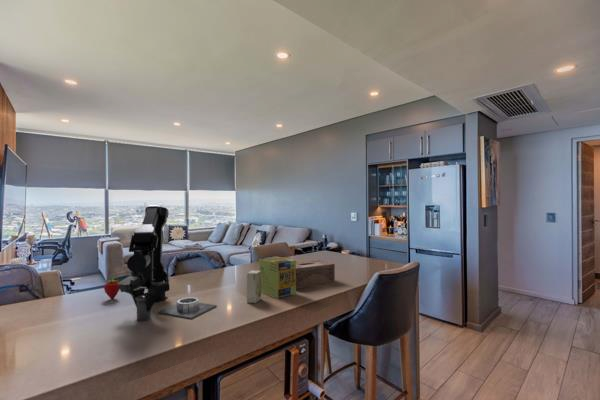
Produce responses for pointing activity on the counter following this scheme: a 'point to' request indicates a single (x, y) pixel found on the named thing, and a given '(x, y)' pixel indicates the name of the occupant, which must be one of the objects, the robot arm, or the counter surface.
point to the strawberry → (111, 288)
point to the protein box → (278, 276)
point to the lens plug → (142, 309)
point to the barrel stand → (187, 308)
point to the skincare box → (253, 286)
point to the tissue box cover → (314, 273)
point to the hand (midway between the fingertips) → (143, 310)
